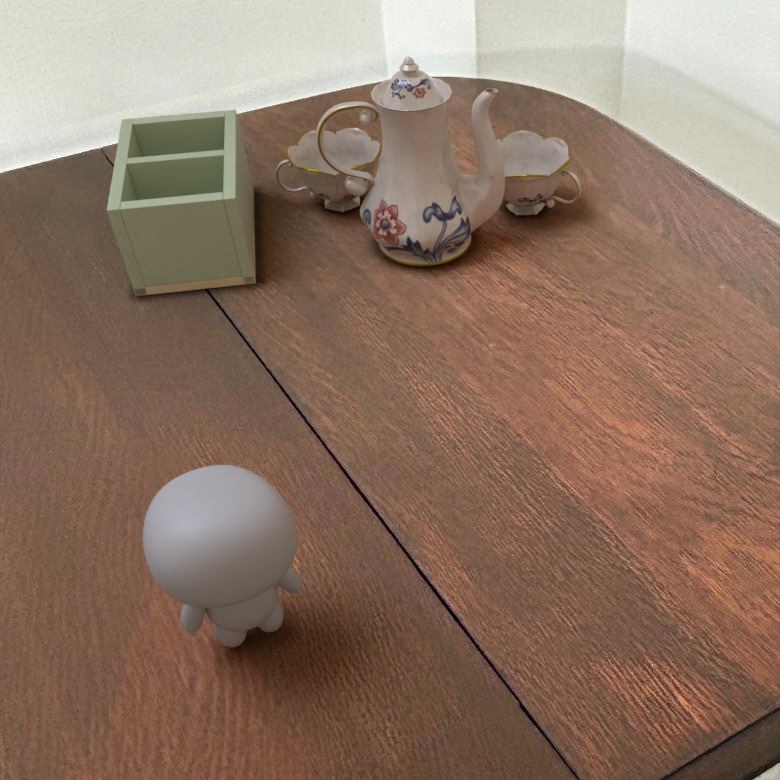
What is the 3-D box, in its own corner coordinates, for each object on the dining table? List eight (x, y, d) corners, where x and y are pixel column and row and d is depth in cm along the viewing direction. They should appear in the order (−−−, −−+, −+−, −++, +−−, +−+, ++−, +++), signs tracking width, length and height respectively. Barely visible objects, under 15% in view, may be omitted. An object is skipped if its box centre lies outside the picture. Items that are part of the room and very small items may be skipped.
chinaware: (573, 192, 101) (576, 9, 90) (588, 270, 89) (594, 69, 78) (289, 199, 100) (257, 15, 89) (263, 280, 88) (223, 77, 77)
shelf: (147, 201, 97) (121, 119, 91) (254, 191, 98) (235, 109, 93) (135, 296, 86) (106, 210, 81) (255, 283, 88) (235, 197, 82)
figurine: (294, 568, 66) (256, 428, 57) (337, 651, 61) (304, 513, 53) (171, 616, 63) (111, 476, 54) (207, 706, 59) (148, 570, 50)
